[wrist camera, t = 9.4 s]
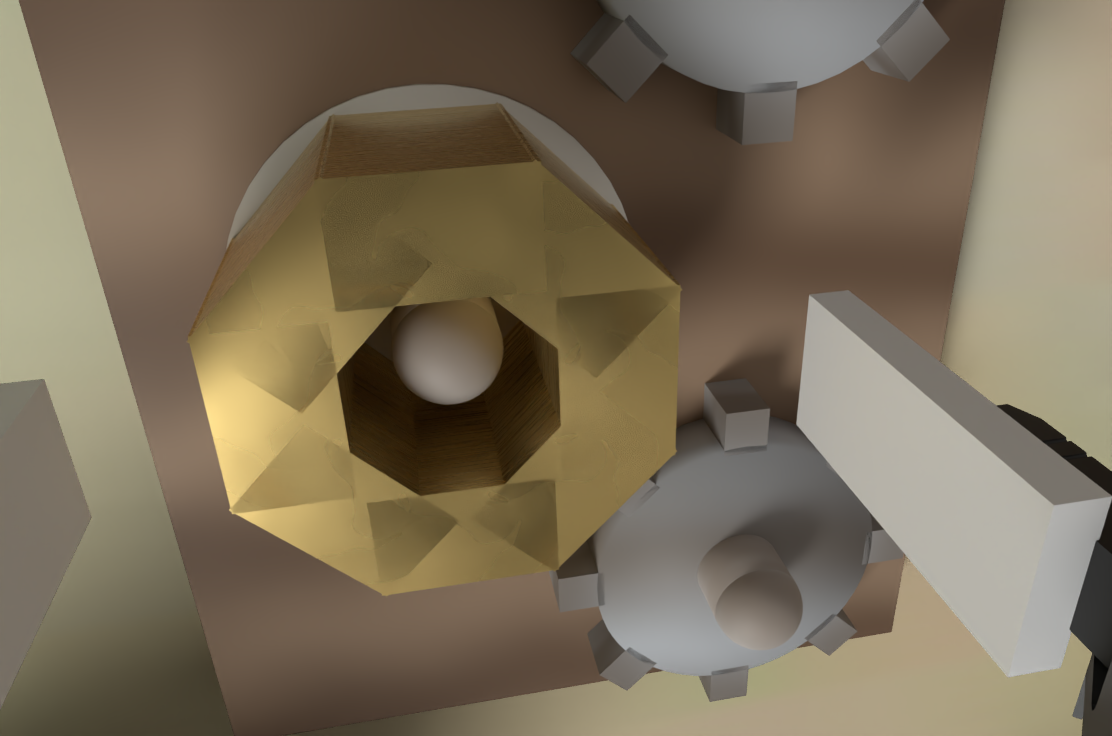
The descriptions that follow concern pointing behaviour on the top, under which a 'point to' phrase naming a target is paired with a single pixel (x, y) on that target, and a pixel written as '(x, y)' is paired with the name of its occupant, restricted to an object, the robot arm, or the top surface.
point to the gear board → (481, 323)
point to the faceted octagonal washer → (375, 387)
